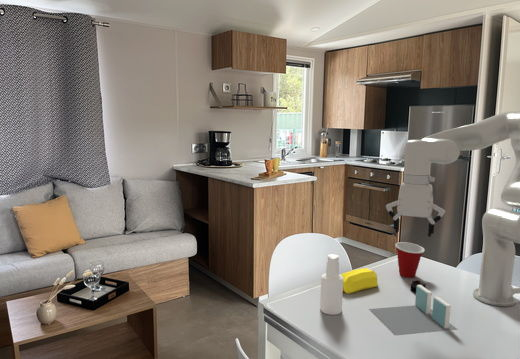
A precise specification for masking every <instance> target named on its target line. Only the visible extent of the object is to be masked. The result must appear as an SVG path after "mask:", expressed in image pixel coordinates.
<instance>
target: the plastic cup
mask: <svg viewBox="0 0 520 359" xmlns="http://www.w3.org/2000/svg"><path fill="white" fill-rule="evenodd" d="M394 245H395V248H396V253H397V266H398V273H399V275H400V277H403V278H406V279H407V278H408V279H413V278H415V277H416V275H417V271H418V269H419V264H420V261H421V257H422V256H423V253H424V252H425V248H424V247H422V246H420V245H419V244H416V243H412V242H407V241H405V242H404V241H403V242H402V241H400V242H396V243H395V244H394Z"/></svg>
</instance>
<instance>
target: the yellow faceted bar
mask: <svg viewBox="0 0 520 359" xmlns="http://www.w3.org/2000/svg"><path fill="white" fill-rule="evenodd" d="M340 275H341V276H342V277H343V292H344V293H345V294H353V293H356V292H359V291H362V290H367V289H372V288H376V287H378V285H379V282H378V275H377V273H376V272H375V270H371V269H370V268H368V267H364V268H363V267H362V268H357V269H356V268H355V269H353V270H349V271H347V272H343V273H340Z"/></svg>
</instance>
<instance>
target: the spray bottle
mask: <svg viewBox="0 0 520 359" xmlns="http://www.w3.org/2000/svg"><path fill="white" fill-rule="evenodd" d="M343 294H344V291H343V277H342V276H341V273H340V256H339V254H334V253H331V254H328V255H327V261H326V269H325V273H323V274H322V275H321V281H320V299H319V300H320V302H319V310H320V311H321V312H322V313H323V314H325V315H330V316H331V315H332V316H334V315H335V316H336V315H339V314H341V313H342V311H343V296H344V295H343Z"/></svg>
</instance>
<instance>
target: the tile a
mask: <svg viewBox="0 0 520 359" xmlns="http://www.w3.org/2000/svg"><path fill="white" fill-rule="evenodd" d="M425 287H426V286H425ZM425 287H423V286H422V285H417V287H416V293H415V302H414V305H416V306H417V307H418V308H419V309H421V310H422V311H423V312H424V313H426V314H430V309H431V307H432V306H431V305H432V294H433V292H432V291H430V290H429V289H427V287H426V288H425Z"/></svg>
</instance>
